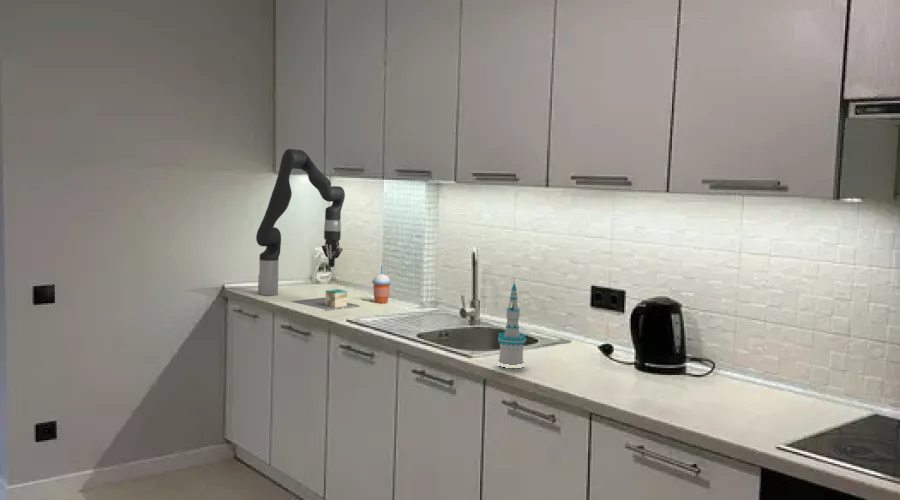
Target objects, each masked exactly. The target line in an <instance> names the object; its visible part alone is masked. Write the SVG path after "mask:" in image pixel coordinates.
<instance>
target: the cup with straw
mask: <svg viewBox="0 0 900 500" xmlns="http://www.w3.org/2000/svg"><path fill="white" fill-rule="evenodd" d="M371 283H372V284H373V288H372V289H373V297H374V303H375V304H381V305H382V304H383V305H384V304H387V303H388V302H389V295H390V289H391V287H390V285H391V284H392V280H390V278H389V276H388V275H386V274H384V265H380V274H377V275H376V276H374V279H373V280H372V281H371Z"/></svg>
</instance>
